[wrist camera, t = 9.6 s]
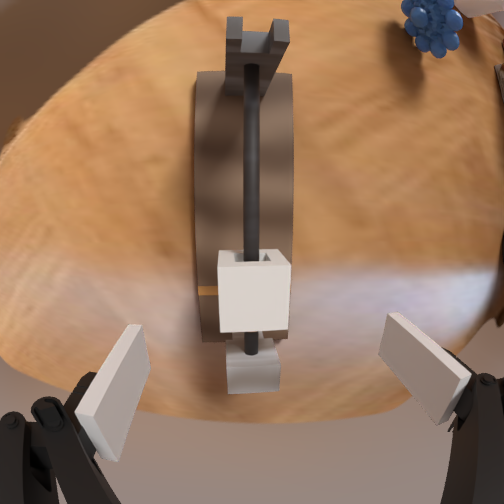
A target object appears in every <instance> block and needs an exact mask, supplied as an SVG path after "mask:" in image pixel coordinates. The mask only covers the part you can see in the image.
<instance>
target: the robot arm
mask: <svg viewBox="0 0 504 504" xmlns="http://www.w3.org/2000/svg"><path fill="white" fill-rule="evenodd" d="M503 262H504V238H503ZM378 355H379V356H380V357H381V358H382V359H383V360H384V362H385V363H386V364H387V365H388V366H389V368H390V369H391V370H392V371H393V372H394V374H395V375H396V376H397V377H398V378H399V380H400V381H401V382H402V383H403V385H404V386H405V387H406V388H407V389H408V391H409V392H410V393H411V394H412V396H413V397H414V398H415V399H416V400H417V402H418V403H419V404H420V405H421V407H422V408H423V409H424V410H425V412H426V413H427V414H428V415H429V417H430V418H431V419H432V420H433V421H434V423H435V424H436V425H440V424H442V423H444V422H446V421H448V420H449V418H450V416H451V414H452V413H453V411H455V413H456V414H457V415H456V417H455V419H454V420H453V422H452V424H451V425H450V427H449V429H448V432H450V430H451V429H452V428H453V427H454V429H453V431H452V432H453V438H452V447H451V454H450V461H449V467H448V472H447V477H446V482H445V487H444V491H443V496H442V499H441V503H440V504H504V378H500V379H496V378H495V377H494V376H492V375H490V374H487V373H481V374H478V375H477V374H476V373H475V372H474V371H472V370H471V369H470V368H469V367H468V366H467V365H466V364H464V363H463V362H461V360H460V359H459V358H456V356H455V355H454V354H453V353H452V352H450V351H449V350H446V349H444V348H442V347H440V346H439V345H438V344H436V343H435V342H434V341H433V340H432V339H430V338H429V337H428V336H427V335H426V334H424V333H423V332H422V331H421V330H420V329H418V328H417V327H416V326H415V325H413V324H412V323H411V322H410V321H409V320H407V319H406V318H405V317H404V316H402V315H401V314H400V313H399V312H395V313H388V314H387V318H386V323H385V328H384V332H383V337H382V341H381V345H380V349H379V353H378ZM150 370H151V366H150V361H149V357H148V352H147V347H146V342H145V337H144V332H143V326H142V325H133V324H128V326H127V327H126V329H125V331H124V332H123V334H122V335H121V337H120V338H119V340H118V341H117V343H116V344H115V346H114V347H113V349H112V351H111V352H110V354H109V355H108V357H107V358H106V360H105V362H104V363H103V365H102V366H101V368H100V370H99V371H98V373H95V372H89V373H87V374H86V375H84V376H83V377H82V378H81V379H80V381H79V382H78V384H77V387H75V388H74V390H73V393H71V395H70V396H69V398H68V399H67V401H66V403H65V404H64V406H63V405H62V403H61V402H60V400H59V399H57V398H55V397H50V396H49V397H43V398H40V399H38V400H37V401H36V402H34V404H33V406H32V407H31V413H32V415H33V416H34V418H35V420H36V421H37V422H27V421H26V420H25V418H24V416H23V415H22V414H20V413H19V412H14V411H13V412H9V413H7V414H5V415H4V416H3V417H2V418H1V420H0V504H59V499H58V492H57V485H56V478H57V480H58V483H59V485H60V488H61V490H62V492H63V494H64V497H65V499H66V502H67V504H121V503H120V501H119V500H118V498H117V497H116V495H115V494H114V492H113V490H112V489H111V487H110V485H109V484H108V482H107V480H106V479H105V477H104V475H103V474H102V471H101V470H100V468H99V466H98V464H97V462H96V461H95V459H94V458H93V457H94V454H95V452H96V451H97V452H98V454H99V456H100V457H101V458H102V459H106V460H111V461H115V462H119V459H120V456H121V452H122V450H123V446H124V444H125V440H126V437H127V434H128V431H129V428H130V425H131V422H132V419H133V417H134V414H135V411H136V408H137V405H138V402H139V400H140V397H141V394H142V391H143V388H144V386H145V383H146V380H147V378H148V375H149V372H150ZM55 475H56V476H55Z"/></svg>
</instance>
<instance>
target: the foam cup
mask: <svg viewBox="0 0 504 504" xmlns="http://www.w3.org/2000/svg"><path fill="white" fill-rule="evenodd" d="M454 5H455V6H456V7H457V8H458V10H459V11H460V12H461V13H463V14H464V15H465V16H466V17H468V18H472V17H477V16H481V15H485V14H489V13H493V12H498V11H503V10H504V0H454Z"/></svg>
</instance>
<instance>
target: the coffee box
mask: <svg viewBox="0 0 504 504" xmlns="http://www.w3.org/2000/svg"><path fill="white" fill-rule="evenodd" d="M495 69H496V73H497V77H498V80H499V84H500V88H501V93H502V97H503V102H504V63H503V64H499V65H495Z"/></svg>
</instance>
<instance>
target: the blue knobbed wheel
mask: <svg viewBox="0 0 504 504" xmlns="http://www.w3.org/2000/svg"><path fill="white" fill-rule="evenodd" d="M453 6H454V0H403V1H402V4H401V9H402V12H403V13H404V14H405V15H406V16H407V17H409V18H408V19H407V20H406V21H405V25H404V27H405V30H406V32H407V33H408V34H409V35H411V36H412V37H416V38H415V44H416V46H417V48H418V49H419V50H420V51H422V52H428V51H431V53H432V54H433V56H435V57H436V58H442V57H444V56H445V55H446V53H447V49H448V50H452V51H454V50H455V49H457V48H458V46H459V37H458V35H457V34H456V33H455V32H454V31H459V30H461V29H462V26H463V19H462V17H461V15H460V14H459V13H458V12H456V11H455V10H452V8H453ZM446 48H447V49H446Z"/></svg>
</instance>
